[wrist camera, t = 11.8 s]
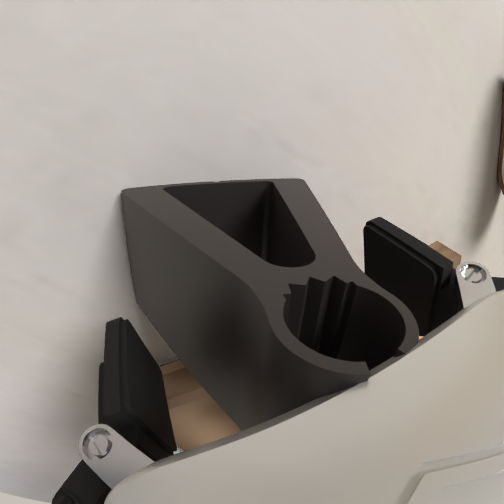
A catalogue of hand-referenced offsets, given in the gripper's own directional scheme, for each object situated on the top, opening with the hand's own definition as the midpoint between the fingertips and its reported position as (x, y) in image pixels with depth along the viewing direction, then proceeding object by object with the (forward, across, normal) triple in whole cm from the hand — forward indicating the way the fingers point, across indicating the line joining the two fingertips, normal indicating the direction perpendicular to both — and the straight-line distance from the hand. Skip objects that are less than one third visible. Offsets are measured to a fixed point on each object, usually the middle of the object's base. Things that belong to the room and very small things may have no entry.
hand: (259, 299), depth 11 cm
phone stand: (+6, 0, 0) cm, 6 cm away
